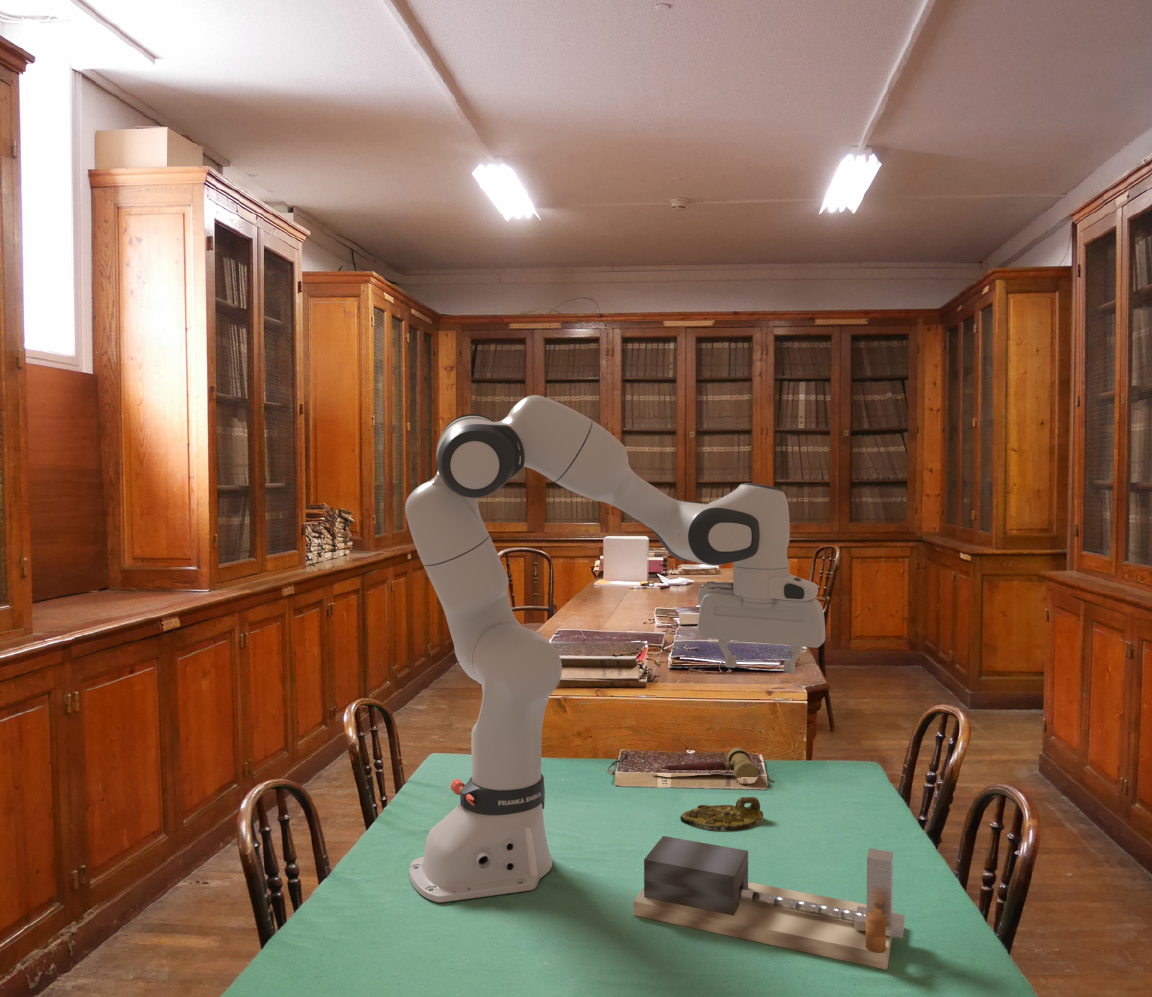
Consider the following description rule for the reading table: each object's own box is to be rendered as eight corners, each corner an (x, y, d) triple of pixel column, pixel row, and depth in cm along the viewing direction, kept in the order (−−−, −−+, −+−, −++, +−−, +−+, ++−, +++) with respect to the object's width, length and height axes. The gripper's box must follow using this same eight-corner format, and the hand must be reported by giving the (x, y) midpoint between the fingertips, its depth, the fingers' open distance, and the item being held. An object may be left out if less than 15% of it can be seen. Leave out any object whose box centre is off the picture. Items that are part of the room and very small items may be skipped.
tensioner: (633, 915, 124) (632, 863, 124) (660, 878, 135) (660, 830, 135) (887, 970, 110) (887, 912, 110) (894, 923, 121) (894, 870, 121)
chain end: (729, 903, 123) (729, 835, 122) (735, 890, 126) (735, 824, 126) (902, 938, 113) (903, 865, 113) (904, 923, 117) (905, 852, 117)
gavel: (653, 770, 174) (648, 753, 184) (654, 793, 174) (650, 775, 184) (757, 762, 174) (747, 746, 184) (759, 785, 174) (749, 767, 184)
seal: (686, 840, 152) (770, 834, 153) (687, 814, 151) (771, 809, 153) (675, 813, 161) (754, 808, 163) (675, 789, 160) (755, 784, 162)
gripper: (692, 582, 142) (691, 667, 143) (821, 590, 134) (820, 680, 134) (703, 578, 148) (702, 659, 149) (827, 585, 140) (826, 671, 140)
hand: (759, 669), depth 141 cm, fingers open, 8 cm apart
